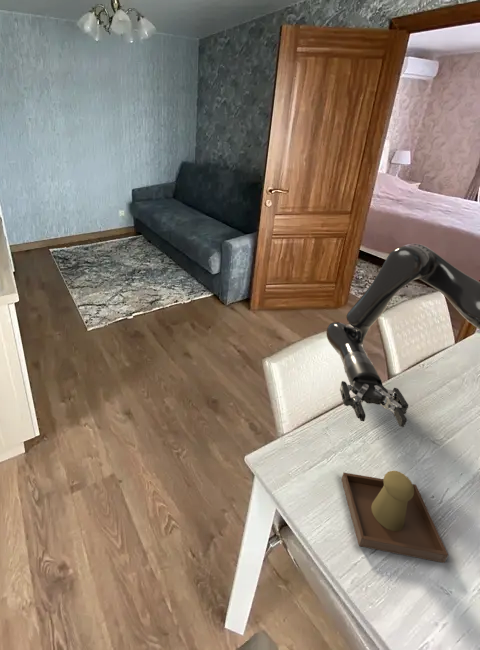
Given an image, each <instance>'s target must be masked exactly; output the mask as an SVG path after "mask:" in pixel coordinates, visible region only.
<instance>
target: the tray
mask: <svg viewBox="0 0 480 650" xmlns="http://www.w3.org/2000/svg"><path fill="white" fill-rule="evenodd" d="M383 479H384V478H379V477H373V476H367V475H360V474H357V473H355V474H354V473H349V472H343V473H342V475H341V483H342V487H343V491H344V495H345V499H346V502H347V506H348V509H349V513H350V518H351V521H352V525H353V529H354V532H355V537H356V540H357V544H358V547H363V548H367V549H372V550H377V551H382V552H387V553H392V554H398V555H401V556H407V557H412V558H418V559H422V560H426V561H427V560H428V561H433V562H437V563H443V564H445V563H446V561H447V560H448V558H449V552H448V551H447V549H446V547H445V544H444V543H443V541H442V538H441V537H440V533H439V532H438V529H437V526H436V525H435V523H434V521H433V518H432V516H431V513H430V512H429V509H428V507H427V506H426V505H427V504H426V503H425V501H424V498H423V497H422V495H421V492H420V490H419V488H418V486H417V484H415V483H412V484H413V487H414V495H413V497H412V498H411V499H410V500H409V501H408V502H407V509H406V516H405V522H404V527H403V528H402V529H401V530H399V531H392V530H389V529H387V528H385V527H384V526H382V525H381V524H380V523H379V522H378V521H377V520H376V518H375V517H374V515H373V513H372V508H371V506H372V503H373V501H374V500H375V498H376V497H377V495H378V494H379V492H380V491H381V489H382V488H383V486H384V482H383Z"/></svg>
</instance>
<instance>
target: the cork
mask: <svg viewBox="0 0 480 650" xmlns="http://www.w3.org/2000/svg"><path fill="white" fill-rule="evenodd" d="M382 479H383V482H384V486H383V488H382V489H381V491H380V492H379V494H378V495H377V497H376V498H375V500H374V501H373V503H372V506H371V508H372V513H373V515H374V517H375V518H376V520H377V521H378V522H379V523H380V524H381V525H382V526H384V527H385V528H387V529H389V530H392V531H399V530H401V529H402V528H403V527H404V522H405V516H406V509H407V502H408V501H409V500H410V499H411V498H412V497H413V495H414V487H413V484H414V483H412V480H411V479H410V478H409V477H408V476H407V475H406V474H405V473H402V472H401V471H398V470H389V471H387V472H386V473H385V474H384V476H383V478H382Z"/></svg>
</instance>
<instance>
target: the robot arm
mask: <svg viewBox="0 0 480 650" xmlns="http://www.w3.org/2000/svg"><path fill="white" fill-rule="evenodd" d="M414 280H420V281H422V282H423V283H425V284H427V285H428V286H430V287H432V288H433V289H434V290H436V291H438V292H439V293H441V294H442V295H443V296H444V297H445V298H446V299H447V300H448V301H449V303H451V305H452V306H453V308H454V309H455V310H456V311H457V312H458V313H459V314H460V315H461V316H462V317H463V318H464V319H465V320H466V321H467V322H468V323H470V324H471V325H472V326H474V327H475V328H476V329H478V331H480V281H479V280H477V279H475V278H473V277H472V276H470V275H468V274H466V273H465V272H463V271H462V270H460V269H459V268H457V267H455V266H454V265H453V264H451V263H450V262H449V261H447V260H446V259H444V258H443V257H442V256H441V255H439V254H437V252H435V251H434V250H433V249H431V248H429V247H428V246H427V245H424V244H421V243H407V244H405V245H401V246H398V247H396V248H394V249H392V250H391V251H390V253H389V254H388V256H387V257H386V258H385V260H384V262H383V264H382V266H381V268H380V270H379V271H378V273H377V275H376V276H375V278H374V279H373V281H372V283H371V284H370V285H369V287H368V288H367V289H366V291H365V292H364V293H363V294H362V295H361V297H359V299H358V300H357V302H355V303H354V305H353V306H352V307H351V308H350V309H349V311H348V312H347V314H346V317H345V318H346V321H347V322H348V324H349V325H348V324H346V323H343V322H340V321H334V322H331V323H330V324H328V326H327V328H326V333H325V334H326V339H327V341H328V343H329V344H330V346H331V347H332V348H333V350H335V352H336V353H337V354H338V355H339V357H340V359H341V361H342V363H343V364H342V365H343V368H344V373H345V375H346V378H347V379H348V382H349V384H348V383H347V382H346V381H345V380H342V381H341V382H340V387H339V391H340V396H341V399H342V403H343V405H344V406H346V407H349V406H350V407H351V408H352V409H353V412H354V413H355V416H356V418H357V419H359V421H360V422H365V420H366V416H367V415H366V411H365V410H364V407H363V403H364V402H365V403H366V404H373V405H378V406H381V407H383V408H384V409H385V410H388V411H390V412H391V413H393V416H394V418H395V420H396V422H397V424H398V426H399V427H400V428H404V427H405V426H406V424H407V421H408V419H407V417H406V414H407V411H408V408H409V406H410V405H409V403H408V402H407V400H406V399H405V397H404V396H403V394H402V392H401V391H400V389H399V388H397V387H393V388H392V389H387V388H386V387H385V386H384V385H383V381H382V379H381V377H380V375H379V372H378V371H377V369H376V367H375V365H374V363H373V361H372V360H371V359H370V357H369V355H368V353H367V351H366V350H365V347H363V344H364V341H365V338H366V336H367V334H368V332H369V330H370V328H371V327H372V325H374V324H375V322H376V321H377V320H379V318H380V317H381V316H382V315H383V313H384V312H385V311H386V309H387V308H388V305H389V303H390V302H391V301H392V299H393V298H394V296H395V295H397V293H398V292H399V291H401V290H402V289H403V288H404V287H406V286H407V285H408V284H410V283H411V282H413V281H414ZM350 392H351V393H353V395H355V397H354V398H352V397H351V393H350ZM385 400H386V401H385Z"/></svg>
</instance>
